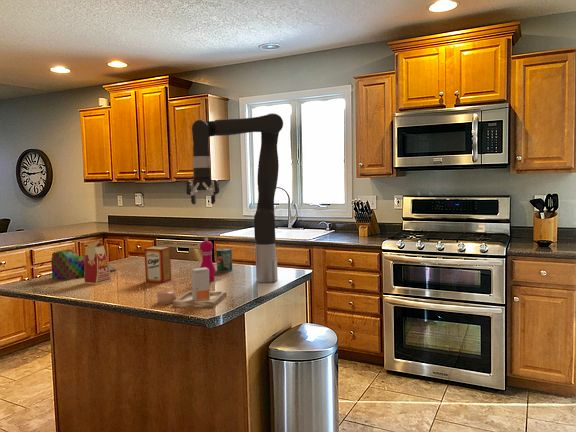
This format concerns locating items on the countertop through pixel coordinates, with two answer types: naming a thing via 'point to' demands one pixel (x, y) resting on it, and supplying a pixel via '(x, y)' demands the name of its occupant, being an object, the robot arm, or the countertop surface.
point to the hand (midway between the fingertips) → (203, 204)
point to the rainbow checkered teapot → (69, 265)
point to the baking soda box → (157, 264)
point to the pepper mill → (207, 257)
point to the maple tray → (187, 300)
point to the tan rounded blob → (166, 296)
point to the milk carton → (96, 264)
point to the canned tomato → (224, 259)
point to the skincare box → (200, 284)
